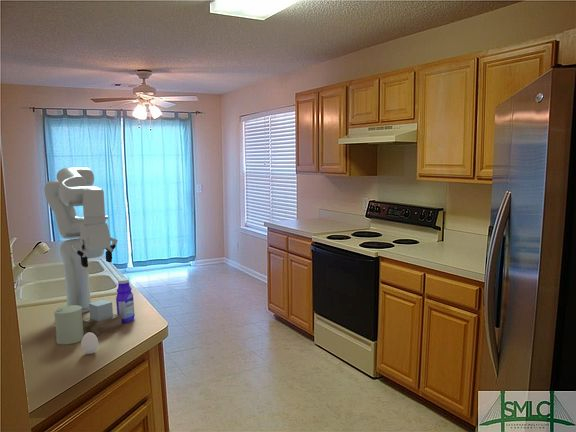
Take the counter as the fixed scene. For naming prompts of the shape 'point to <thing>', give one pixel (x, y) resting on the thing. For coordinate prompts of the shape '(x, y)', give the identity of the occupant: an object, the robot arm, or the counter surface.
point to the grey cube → (101, 310)
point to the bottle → (125, 301)
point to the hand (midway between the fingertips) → (97, 264)
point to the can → (69, 324)
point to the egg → (89, 343)
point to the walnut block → (102, 325)
